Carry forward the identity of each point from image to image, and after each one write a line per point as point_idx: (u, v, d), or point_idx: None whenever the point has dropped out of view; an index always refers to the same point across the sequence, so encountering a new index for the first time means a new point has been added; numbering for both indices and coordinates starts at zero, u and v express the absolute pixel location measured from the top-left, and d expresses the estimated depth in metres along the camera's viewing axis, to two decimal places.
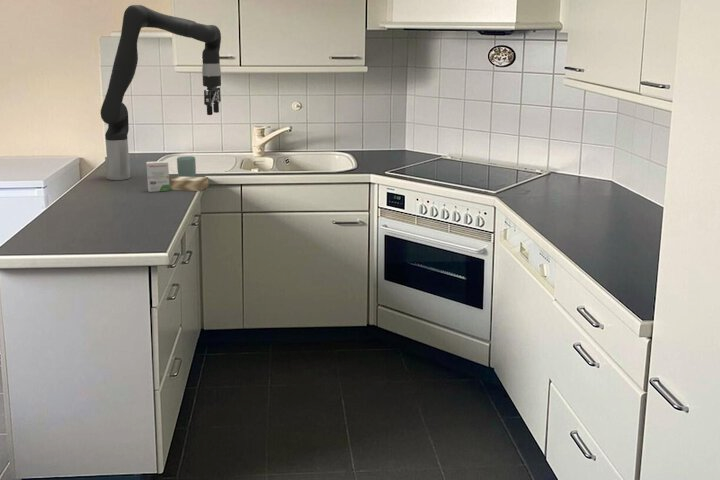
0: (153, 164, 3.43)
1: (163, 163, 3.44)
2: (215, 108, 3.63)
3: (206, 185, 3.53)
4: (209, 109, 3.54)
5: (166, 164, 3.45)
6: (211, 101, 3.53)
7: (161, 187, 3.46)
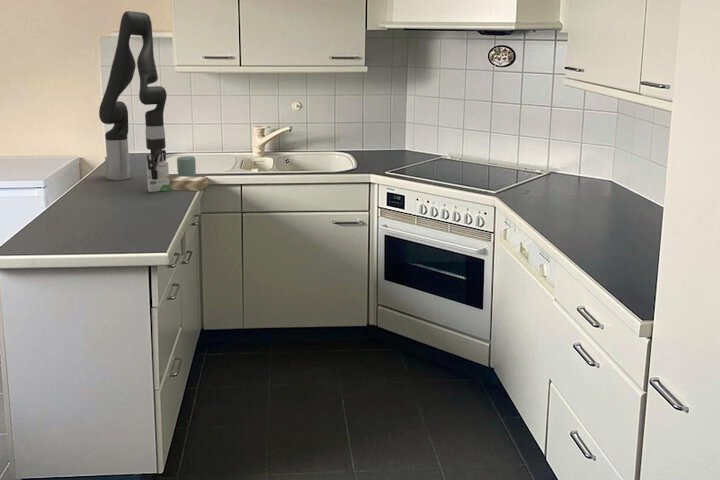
0: None
1: (163, 163, 3.44)
2: None
3: (206, 185, 3.53)
4: (154, 174, 3.42)
5: (166, 164, 3.45)
6: (155, 165, 3.42)
7: (161, 186, 3.46)
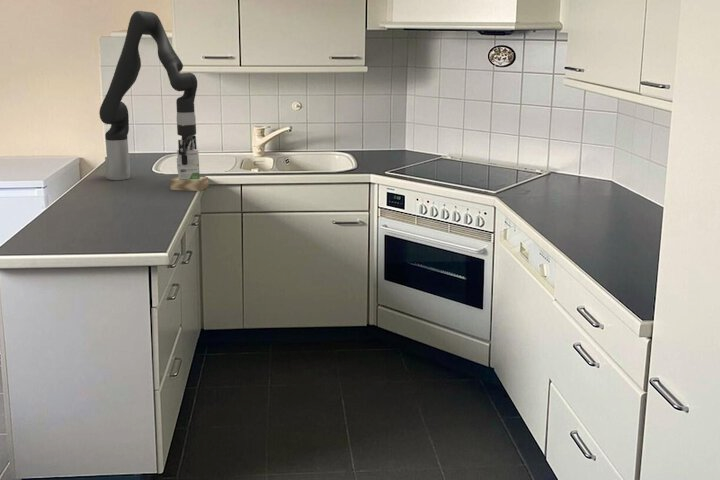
0: None
1: (193, 151, 3.47)
2: None
3: (206, 185, 3.53)
4: (184, 159, 3.44)
5: (196, 152, 3.48)
6: (186, 151, 3.44)
7: (191, 174, 3.49)
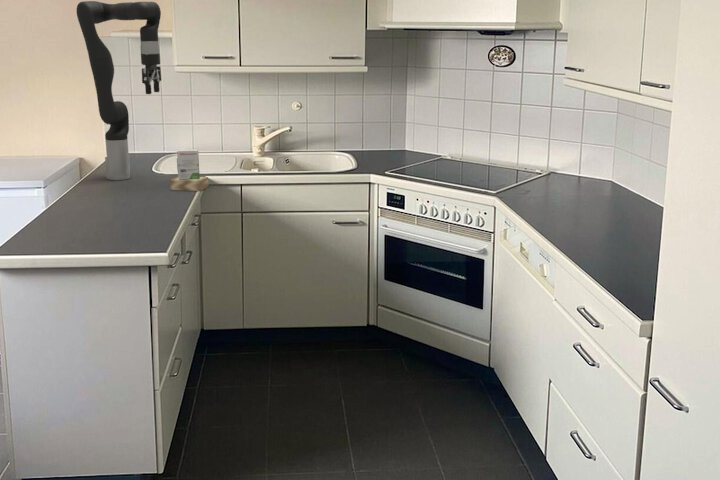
0: (183, 152, 3.46)
1: (193, 151, 3.47)
2: (156, 87, 3.54)
3: (206, 185, 3.53)
4: (147, 88, 3.46)
5: (196, 152, 3.48)
6: (149, 80, 3.45)
7: (191, 174, 3.49)
